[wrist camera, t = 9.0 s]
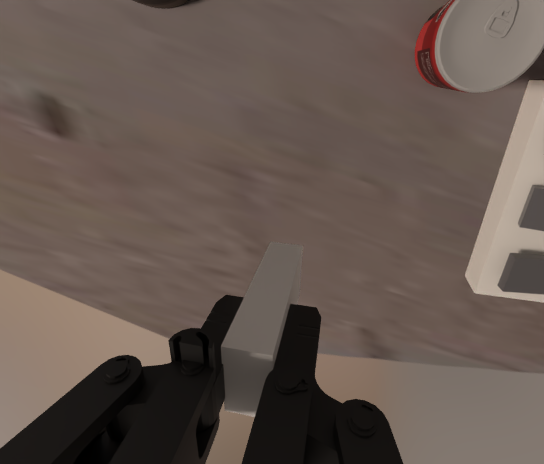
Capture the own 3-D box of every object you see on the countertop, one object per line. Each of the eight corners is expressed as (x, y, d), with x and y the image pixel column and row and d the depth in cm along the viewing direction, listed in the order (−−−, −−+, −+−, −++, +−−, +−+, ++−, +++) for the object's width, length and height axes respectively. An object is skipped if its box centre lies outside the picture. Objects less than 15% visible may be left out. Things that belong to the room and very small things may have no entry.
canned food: (507, -1, 32) (575, -32, 22) (480, 89, 36) (529, 96, 26) (423, -2, 33) (453, -32, 24) (405, 85, 37) (425, 90, 27)
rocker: (509, 252, 37) (516, 258, 36) (577, 257, 36) (586, 263, 35) (497, 285, 39) (503, 292, 38) (561, 290, 38) (569, 297, 37)
